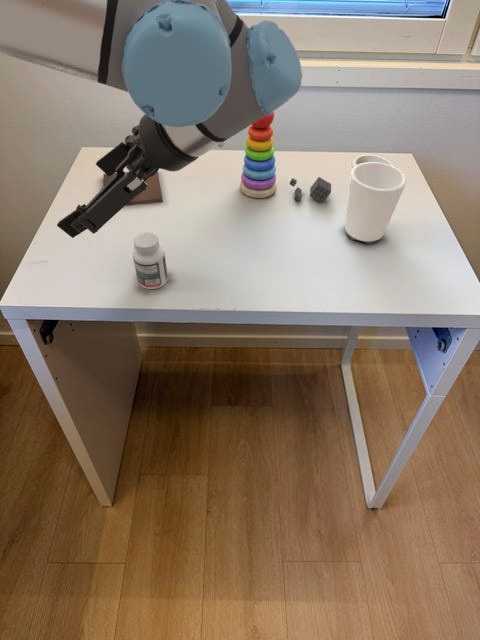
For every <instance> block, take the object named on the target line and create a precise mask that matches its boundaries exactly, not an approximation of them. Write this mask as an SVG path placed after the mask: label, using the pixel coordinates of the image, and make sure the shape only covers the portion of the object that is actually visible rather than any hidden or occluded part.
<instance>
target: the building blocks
mask: <svg viewBox="0 0 480 640" xmlns="http://www.w3.org/2000/svg"><path fill="white" fill-rule="evenodd" d="M297 183H298V181H297V179H295V178H294V177H292V178H291V179H290V181H289V185H290V186H292V187H295V186H296V184H297ZM331 193H332V183H330V182H328V181H327V180H325V179H323V178H322V177H320V176H318V177H317V178H316V180H315V181H314V182H313V183H312V185H311V186H310V188H309V197H311V198H313V199H314V200H316V201H318V202H320V203H321V204H322V203H324V202H325V201H326V199H327V198H328V197H329V196H330V195H331ZM301 198H302V189H301V188H300V187H298V186H297V187H296V189H295V190H294V195H293V199H294V200H296V201H298V202H299V201H300V200H301Z"/></svg>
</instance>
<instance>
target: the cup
mask: <svg viewBox="0 0 480 640" xmlns="http://www.w3.org/2000/svg"><path fill="white" fill-rule="evenodd" d="M407 179H408V178H407V175H406V174H405V173H404V172H403V171H402V170H401V169H400V168H398V167H396V166H394V165H391V164H389V163H385V162H382V161H381V162H380V161H366V162H362V163H361V162H360V163H357V164H356V165H355V166H354V167H353V168H352V169H351V172H350V179H349V189H348V195H347V205H346V216H345V224H344V229H345V232H346V233H347V236H348V237H349V239H350V240H352V241H361V242H364V243H365V244H367V245H371V244H373V243H375V242H376V241H379V240H380V239H382V238H383V237H384V235H385V233H386V230H387V228H388V227H389V223H390V222H391V219H392V217H393V215H394V212H395V210H396V208H397V205H398V203H399V200H400V198H401V196H402V194H403V191H404V189H405V187H406V185H407Z"/></svg>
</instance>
